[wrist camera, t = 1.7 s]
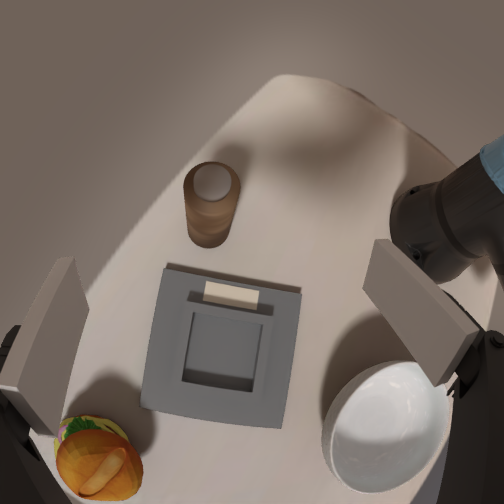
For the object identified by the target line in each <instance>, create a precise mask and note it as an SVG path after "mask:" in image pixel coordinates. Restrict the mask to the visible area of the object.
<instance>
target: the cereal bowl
mask: <svg viewBox="0 0 504 504" xmlns="http://www.w3.org/2000/svg"><path fill="white" fill-rule="evenodd" d="M446 394H447V389H446V386H445V384H442V385H439V386H437V387H435V388H434V387H433V385H432V384H431V382H430V381H429V379H428V378H427V376H426V375H425V373H424V372H423V370H422V369H421V368H420V366H419V365H418V363H417V362H415V361H406V360H404V361H403V360H399V361H398V360H394V361H388V362H383V363H380V364H377V365H375V366H372V367H370V368H367V369H366V370H364V371H362V372H360V373H359V374H358V375H356V376H355V377H354V378H352V380H351V381H349V382H348V383H347V384H346V385H345V386H344V387H343V388H342V389H341V391H340V392H339V393H338V394H337V396H336V397H335V399H334V401H333V402H332V404H331V406H330V408H329V410H328V413H327V415H326V418H325V421H324V424H323V429H322V438H321V440H322V451H323V455H324V459H325V461H326V464H327V465H328V468H329V469H330V471H331V473H332V474H333V475H334V476H335V477H336V478H337V480H338V481H340V482H341V483H342V484H343V485H345V486H346V487H347V488H349V489H351V490H353V491H355V492H358V493H363V494H379V493H384V492H388V491H391V490H394V489H396V488H398V487H400V486H402V485H404V484H406V483H407V482H409V481H410V480H412V479H413V478H414V477H416V476H417V475H418V474H419V473H420V472H421V471H422V470H423V469H424V468H425V467H426V466H427V465H428V463H429V462H430V461H431V460H432V458H433V457H434V455H435V454H436V452H437V450H438V448H439V446H440V445H441V442H442V440H443V438H444V435H445V432H446V428H447V424H448V419H449V397H448V396H446Z"/></svg>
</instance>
